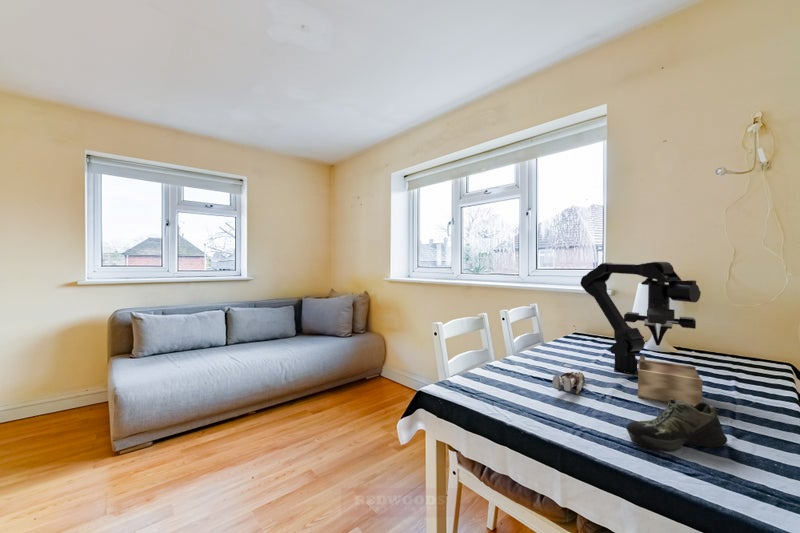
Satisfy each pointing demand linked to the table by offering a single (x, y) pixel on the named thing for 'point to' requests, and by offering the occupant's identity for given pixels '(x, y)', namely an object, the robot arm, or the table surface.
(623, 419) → the table surface
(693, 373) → the lid
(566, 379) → the figurine
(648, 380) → the box
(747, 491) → the table surface
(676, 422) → the hiking shoe
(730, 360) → the table surface
